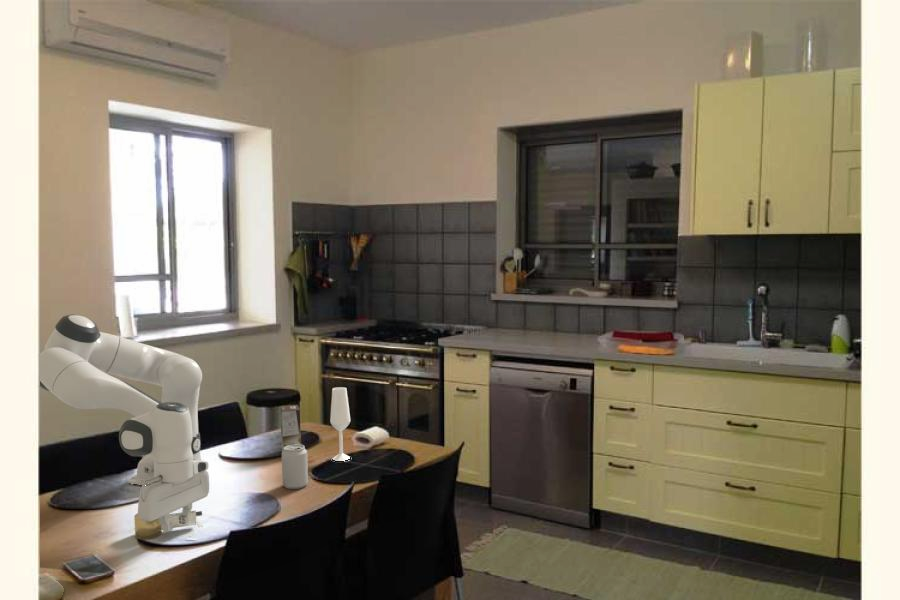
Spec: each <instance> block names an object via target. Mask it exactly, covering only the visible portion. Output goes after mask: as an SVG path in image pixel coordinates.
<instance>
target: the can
mask: <svg viewBox="0 0 900 600" xmlns="http://www.w3.org/2000/svg"><path fill="white" fill-rule="evenodd" d="M308 470H309V466H308V450H307V449H306V448H305V445H304V444H301V445H299V444H295V445H288V446H285V447H284V451H283V452H282V451H281V471H282V473H281V474H282V477H281V478H282V485H283V487H285V488H286V489H289V490H299V489H302V488H303V489H304V488H305V487H306V485H308V483H309V471H308Z"/></svg>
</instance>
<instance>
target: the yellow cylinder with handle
mask: <svg viewBox="0 0 900 600" xmlns="http://www.w3.org/2000/svg"><path fill="white" fill-rule="evenodd" d="M181 514H182V511H181V512H177V513H176V512H175V513H169V518H167V519H168V521H169V523H173V526H172V527H173V529H176V528H183V527H190V526H196V525H197V517H200V516H201V517H202V516H203V511H202V510H201V511H197V510H191V512H190V514H189V522H188V523H185V524H180V523H179V516H181ZM133 519H134V536H135V538H136V539H138V540H151V539H153V538H157V537H159V536H160V535H162V533H163V530H162V524H161V522H160V521H159V519H156V520H153V521H143V520H140V518H139V517H138V512H137V513H135V515H134V517H133Z"/></svg>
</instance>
